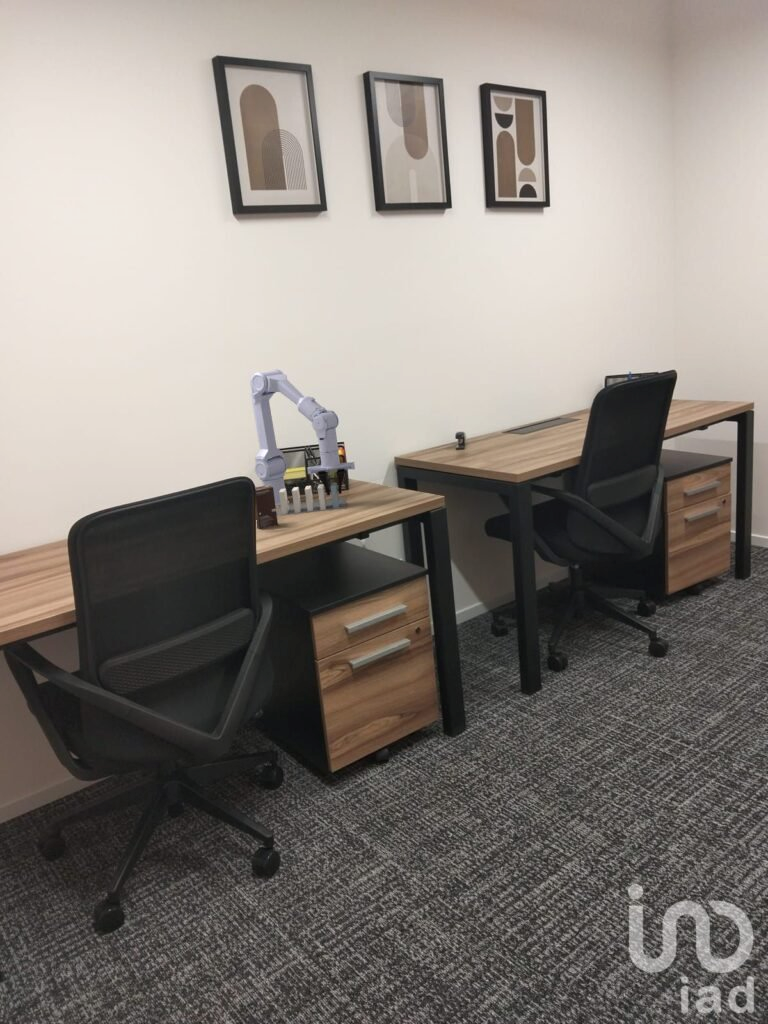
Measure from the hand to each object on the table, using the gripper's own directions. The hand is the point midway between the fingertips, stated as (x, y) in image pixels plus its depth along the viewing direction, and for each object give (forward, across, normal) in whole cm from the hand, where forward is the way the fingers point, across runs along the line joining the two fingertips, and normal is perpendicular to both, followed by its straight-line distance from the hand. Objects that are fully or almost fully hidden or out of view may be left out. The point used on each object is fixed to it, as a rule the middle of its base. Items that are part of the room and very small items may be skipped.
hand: (334, 494), depth 230 cm
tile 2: (+4, -12, 0) cm, 13 cm away
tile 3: (+4, -8, 0) cm, 9 cm away
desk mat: (+4, -8, +4) cm, 10 cm away
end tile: (+4, 0, 0) cm, 4 cm away
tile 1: (+4, -16, 0) cm, 16 cm away
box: (+5, -20, -16) cm, 26 cm away
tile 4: (+4, -4, 0) cm, 6 cm away
